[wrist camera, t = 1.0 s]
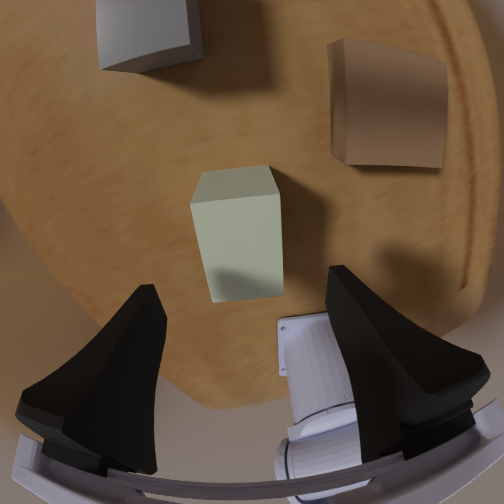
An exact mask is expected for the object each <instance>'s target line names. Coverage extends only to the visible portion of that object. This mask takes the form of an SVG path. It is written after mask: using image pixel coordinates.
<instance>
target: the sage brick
mask: <svg viewBox="0 0 504 504" xmlns="http://www.w3.org/2000/svg"><path fill="white" fill-rule="evenodd" d="M190 206H191V211H192V216H193V221H194V225H195V230H196V235H197V239H198V244H199V248H200V252H201V257H202V261H203V265H204V270H205V274H206V278H207V282H208V286H209V290H210V294H211V298H212V302H224V301H236V300H246V299H256V298H266V297H275V296H284V292H283V255H282V228H281V206H280V193H279V190H278V188H277V185H276V183H275V180H274V178H273V176H272V173H271V171H270V168H269V166H268V165H263V166H252V167H242V168H233V169H225V170H217V171H209V172H203V173H202V175H201V177H200V180H199V182H198V185H197V187H196V190H195V192H194V195H193V198H192V200H191V203H190Z"/></svg>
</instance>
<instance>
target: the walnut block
mask: <svg viewBox="0 0 504 504" xmlns="http://www.w3.org/2000/svg"><path fill="white" fill-rule="evenodd" d="M327 51H328V65H329V81H330V107H331V154H332V155H334V156H335V157H337V158H338V159H339V160H341V161H342V162H343V163H344V164H346V165H396V166H417V167H433V168H442V164H443V156H444V147H445V137H446V124H447V94H448V89H447V63H445V62H442V61H439V60H437V59H434V58H430V57H427V56H424V55H421V54H417V53H414V52H410V51H407V50H403V49H399V48H395V47H390V46H386V45H381V44H376V43H371V42H365V41H359V40H353V39H345V38H343V39H340V40H338V41H336V42H333V43H331V44H329V45H327Z"/></svg>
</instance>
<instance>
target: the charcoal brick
mask: <svg viewBox="0 0 504 504" xmlns="http://www.w3.org/2000/svg"><path fill="white" fill-rule="evenodd" d="M96 27H97V44H98V56H99V66H100V70H108V71H119V72H129V73H137V74H138V73H142V72H145V71H149V70H153V69H157V68H161V67H165V66H169V65H174V64H178V63H183V62H189V61H194V60H200V59H205V58H204V49H203V39H202V30H201V20H200V10H199V0H96Z"/></svg>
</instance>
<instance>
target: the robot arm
mask: <svg viewBox="0 0 504 504" xmlns="http://www.w3.org/2000/svg"><path fill="white" fill-rule="evenodd" d="M325 304H326V308H327V312H326V313H319V314H312V315H304V316H296V317H288V318H282V319H280V320H278V322H277V324H278V353H279V375H280V376H287V378H288V385H289V392H290V398H291V405H292V412H293V419H294V426H291V427H288V428H287V429H288V438H285V439H284V440H282V442H281V443H280V445H279V448H278V449H277V452H276V455H275V475H276V479H277V480H276V481H265V482H249V483H205V482H189V481H178V480H169V479H161V478H155V477H147V476H142V475H137V474H131V473H128V472H132V473H142V474H148V475H152V474H154V473H155V472H156V471H157V464H156V454H155V441H154V404H155V390H156V383H157V377H158V372H159V368H160V363H161V358H162V353H163V349H164V344H165V339H166V329H167V316H166V314H165V311H164V309H163V306H162V304H161V302H160V299H159V297H158V294H157V292H156V289H155V287H154V284H146V285H140V286H139V287H138V288H137V289H136V290H135V292H134V293H133V294H132V295H131V296H130V297H129V298H128V300H127V301H126V302H125V303H124V304H123V306H122V307H121V308H120V309H119V310H118V311H117V313H116V314H115V315H114V316H113V317H112V318H111V320H110V321H109V322H108V323H107V324H106V325H105V326H104V327H103V328H102V329H101V331H100V332H99V333H98V334H97V335H96V336H95V337H94V338H93V339H92V340H91V341H90V342H89V343H88V344H87V345H86V346H85V347H84V348H83V349H82V350H81V351H79V352H78V353H77V354H76V355H75V356H74V357H72V358H71V359H70V360H69V361H67V362H66V363H65V364H64V365H63V366H61V367H60V368H59V369H57V370H56V371H54V372H53V373H52V374H50V375H49V376H47V377H46V378H44V379H42V380H41V381H39V382H37V383H36V384H34V385H32V386H30V387H28V388H27V389H25V390H23V392H22V395H21V398H20V401H19V404H18V407H17V410H16V413H15V416H16V418H17V419H18V420H19V421H20V422H21V423H23V424H24V425H26V426H27V427H28V428H30V429H31V430H32V431H34V432H35V433H37V434H38V435H40V436H41V437H43V438H44V443H41V442H39V441H37V440H35V439H33V438H31V437H29V436H27V435H24V434H21V436H20V440H19V443H18V447H17V452H16V456H15V461H14V466H13V471H12V479H13V480H15V481H16V482H18V483H19V484H21V485H22V486H24V487H25V488H27V489H28V490H30V491H31V492H33V493H34V494H36V495H37V496H39V497H40V498H42V499H44V500H45V501H47V502H48V503H50V504H180V503H174V502H169V501H164V500H158V499H153V498H147V497H146V496H145V494H144V493H143V492H147V493H153V494H158V495H165V496H173V497H181V498H192V499H205V500H259V499H272V498H282V497H287V499H288V500H289V501H290V503H291V504H440V503H442V502H443V501H445V500H446V499H447V498H449V497H451V496H452V495H454V494H455V493H457V492H458V491H459V490H461V489H462V488H463V487H465V486H466V485H468V484H469V483H470V482H471V481H473V480H474V479H475V478H476V477H478V476H479V475H480V474H482V473H483V472H484V471H485V470H487V469H488V468H489V467H490V466H491V465H493V464H494V463H495V462H496V461H498V459H500V458H501V457H502V456H503V455H504V414H503V411H502V409H501V407H500V404H499V402H498V400H497V399H494V400H493V401H491V402H490V403H488V404H487V405H485V406H484V407H482V408H481V409H479V410H478V411H476V412H475V413H473V414H472V412H471V410H470V409H471V408H472V407H473V402H472V400H471V398H472V397H473V396H474V395H475V394H476V393H477V392H478V391H479V390H480V389H481V388H482V387H483V386H484V385H485V384H486V383H487V381H488V380H489V378H490V371H489V369H488V367H487V365H486V364H485V362H484V360H483V358H482V357H481V355H479V354H476V353H474V352H471V351H468V350H465V349H462V348H460V347H458V346H455V345H453V344H451V343H449V342H447V341H445V340H443V339H441V338H439V337H437V336H435V335H433V334H431V333H430V332H428V331H426V330H424V329H423V328H421V327H419V326H418V325H416V324H415V323H413V322H412V321H410V320H409V319H407V318H406V317H404V316H403V315H402V314H400V313H399V312H397V311H396V310H395V309H394V308H392V307H391V306H390V305H388V304H387V303H386V302H385V301H383V300H382V299H381V298H380V297H379V296H378V295H376V294H375V293H374V292H373V291H372V290H371V289H370V288H368V287H367V286H366V285H365V284H364V283H363V282H362V281H361V280H360V279H359V278H357V277H356V276H355V275H354V274H353V273H352V272H351V271H350V270H349V269H348V268H347V267H345V266H344V265H337V266H329V274H328V284H327V293H326V301H325ZM141 491H142V492H141Z"/></svg>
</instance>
